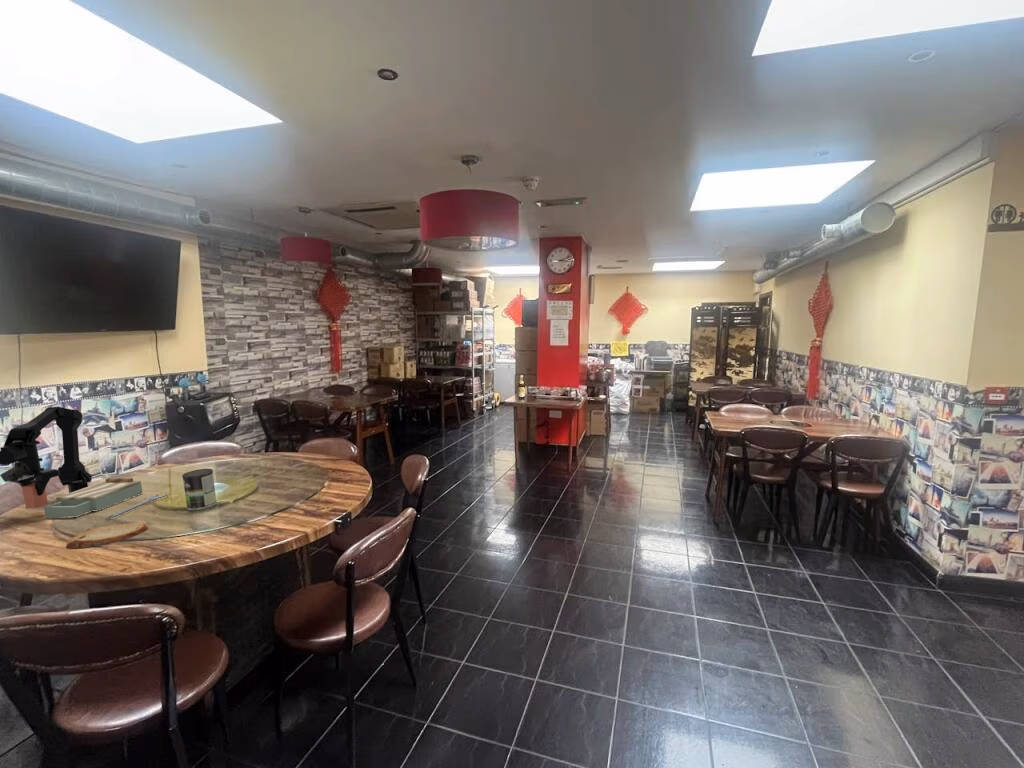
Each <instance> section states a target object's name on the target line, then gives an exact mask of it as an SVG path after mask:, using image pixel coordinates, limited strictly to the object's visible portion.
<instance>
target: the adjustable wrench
mask: <svg viewBox="0 0 1024 768" xmlns="http://www.w3.org/2000/svg"><path fill="white" fill-rule="evenodd" d="M165 496H167V497H168V493H164V494H161V495H159V494H158V493H157V494H154V495H150V496H149V497H145V500H143V501H140V502H139V503H138V502H137V503H135V504H134V505H131V506H129V507H126V508H124V509H122V510H118V511H117V512H114V513H112V514H109V515H107V516H106V517H105V520H106V519H110V518H113V517H116V516H118V515H121V514H123V513H125V512H128V511H130V510H132V509H135V508H137V507H139V506H142V505H144V504H146V503H149V502H151V501H154V500H157V499H159V498H162V497H165ZM149 504H150V503H149ZM146 505H147V504H146ZM144 506H145V505H144ZM142 507H143V506H142ZM137 509H138V508H137ZM135 510H136V509H135ZM130 512H131V511H130ZM128 513H129V512H128ZM123 515H124V514H123ZM121 516H122V515H121Z"/></svg>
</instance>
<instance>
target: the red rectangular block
mask: <svg viewBox="0 0 1024 768" xmlns="http://www.w3.org/2000/svg"><path fill="white" fill-rule="evenodd" d="M21 490H22V495H23V501H24V505H25V509H38V508H40V507H45V506H48V504H49V501H48V497H47V496H48V495H47V491H46V489H45V490H44V492H43V494H42V495H40V496H39V495H38V493H37V490H36V487H35V484H34V483H33V484H29V485H26V486H23V487H21Z"/></svg>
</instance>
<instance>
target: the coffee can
mask: <svg viewBox="0 0 1024 768" xmlns="http://www.w3.org/2000/svg"><path fill="white" fill-rule="evenodd" d="M213 472H214V470H213V469H212V468H201V469H200V468H199V469H195V470H194V469H193V470H191V471H187V472H185V473H183V474H182V475H181V476H182V477H181V478H182V481H183V488H184V496H185V501H186V502H185V503H186V509H187V511H200V510H204V509H207V508H210V507H213V506H215V505H216V504H217V503H218V501H217V495H216V487H215V479H214V473H213Z"/></svg>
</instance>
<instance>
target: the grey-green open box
mask: <svg viewBox="0 0 1024 768" xmlns="http://www.w3.org/2000/svg"><path fill="white" fill-rule="evenodd" d="M142 488H143V487H142V482H141V483H139V484H136V485H133V486H131V487H128V488H125V489H123V490H120V491H117V492H114V493H112V494H109V495H106V496H104V497H101V498H98V499H95V500H56V502H55V503H53V504H49V505H45V506H43V511H44V517H45V519H56V518H55V517H64V516H65V517H66V516H67V517H68V516H78V515H81V514H84V513H86V512H89V511H92V510H99V509H102V508H105V507H107V506H110V505H113V504H115V503H118V502H120V501H123V500H125V499H128V498H130V497H133V496H136V495H138V494H141V493H143V489H142ZM141 495H142V494H141ZM138 496H139V495H138ZM136 497H137V496H136ZM133 498H134V497H133ZM128 500H129V499H128ZM123 502H124V501H123ZM118 504H119V503H118ZM113 506H114V505H113ZM105 509H106V508H105Z"/></svg>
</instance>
